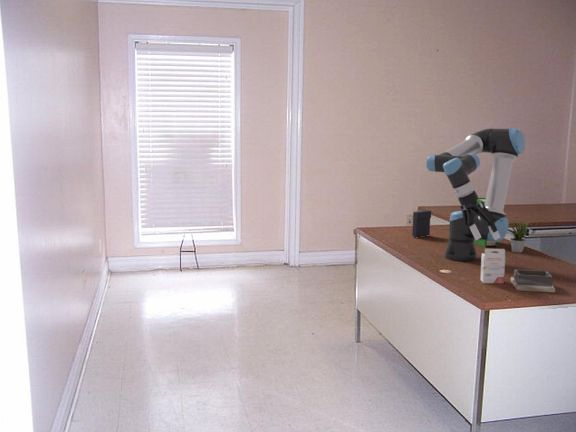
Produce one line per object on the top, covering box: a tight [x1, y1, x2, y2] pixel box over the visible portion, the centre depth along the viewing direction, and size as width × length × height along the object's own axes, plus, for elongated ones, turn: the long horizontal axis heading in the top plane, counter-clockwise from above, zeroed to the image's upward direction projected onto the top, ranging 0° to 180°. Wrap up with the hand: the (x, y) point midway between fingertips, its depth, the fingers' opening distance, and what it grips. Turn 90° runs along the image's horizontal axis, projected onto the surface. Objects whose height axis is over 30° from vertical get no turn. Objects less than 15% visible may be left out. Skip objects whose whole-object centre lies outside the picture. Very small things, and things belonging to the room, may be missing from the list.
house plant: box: [507, 220, 531, 253], centre depth 277 cm, size 14×14×16 cm
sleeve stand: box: [510, 268, 556, 293], centre depth 219 cm, size 14×14×6 cm
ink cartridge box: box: [480, 248, 506, 285], centre depth 224 cm, size 9×5×15 cm, turn 83°
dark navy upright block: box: [411, 209, 432, 238], centre depth 313 cm, size 11×4×15 cm, turn 122°
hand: (487, 238), depth 227 cm, fingers open, 13 cm apart
